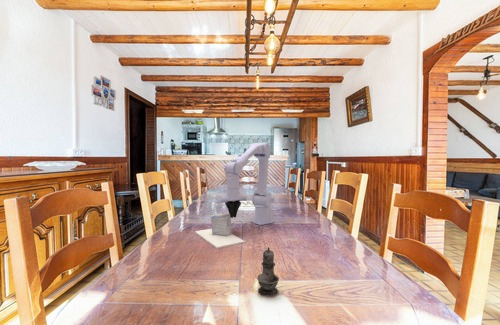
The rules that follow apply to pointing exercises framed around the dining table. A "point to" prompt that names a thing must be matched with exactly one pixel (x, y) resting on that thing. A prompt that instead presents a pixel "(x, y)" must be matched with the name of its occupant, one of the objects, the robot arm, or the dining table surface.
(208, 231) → the mat
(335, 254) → the dining table surface
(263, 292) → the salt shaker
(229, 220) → the medicine box
